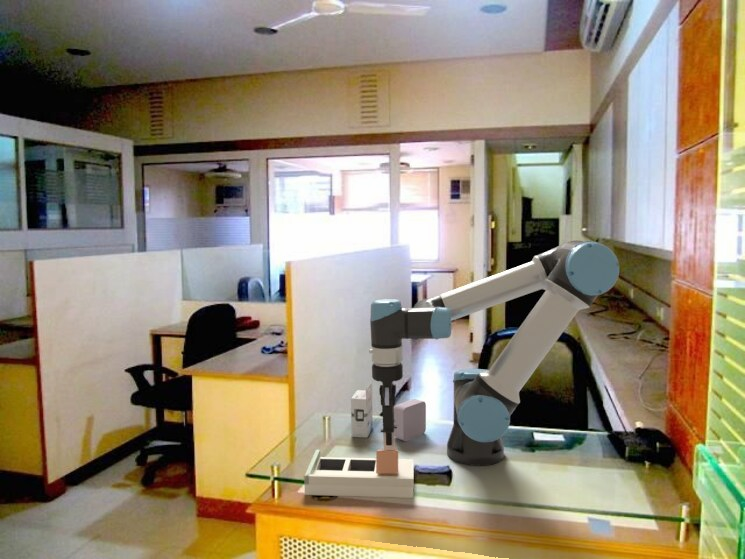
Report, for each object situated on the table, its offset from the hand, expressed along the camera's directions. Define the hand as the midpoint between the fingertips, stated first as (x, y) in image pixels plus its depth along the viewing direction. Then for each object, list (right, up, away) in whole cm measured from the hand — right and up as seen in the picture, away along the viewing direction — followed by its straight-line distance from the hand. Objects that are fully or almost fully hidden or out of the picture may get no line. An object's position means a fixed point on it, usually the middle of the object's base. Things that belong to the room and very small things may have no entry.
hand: (389, 455), depth 135 cm
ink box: (-7, -2, +28) cm, 29 cm away
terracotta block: (-1, -2, -6) cm, 7 cm away
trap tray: (-7, -5, -3) cm, 9 cm away
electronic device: (+7, -2, +25) cm, 26 cm away
